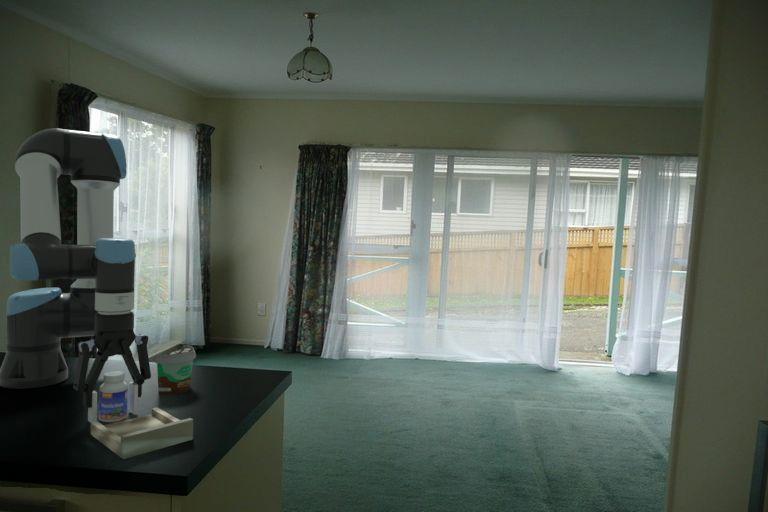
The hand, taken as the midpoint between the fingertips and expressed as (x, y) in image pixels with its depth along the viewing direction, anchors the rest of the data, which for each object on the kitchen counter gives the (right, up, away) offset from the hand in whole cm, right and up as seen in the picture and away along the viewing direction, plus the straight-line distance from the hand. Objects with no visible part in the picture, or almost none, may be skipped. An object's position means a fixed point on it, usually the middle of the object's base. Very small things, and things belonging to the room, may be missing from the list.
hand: (113, 417), depth 117 cm
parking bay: (+10, -1, -9) cm, 13 cm away
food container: (+7, +1, +21) cm, 22 cm away
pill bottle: (0, 0, 0) cm, 0 cm away
